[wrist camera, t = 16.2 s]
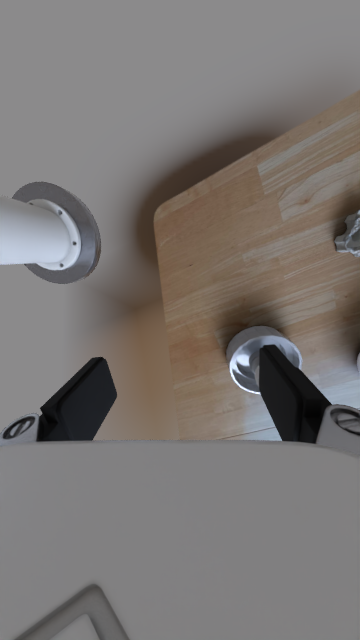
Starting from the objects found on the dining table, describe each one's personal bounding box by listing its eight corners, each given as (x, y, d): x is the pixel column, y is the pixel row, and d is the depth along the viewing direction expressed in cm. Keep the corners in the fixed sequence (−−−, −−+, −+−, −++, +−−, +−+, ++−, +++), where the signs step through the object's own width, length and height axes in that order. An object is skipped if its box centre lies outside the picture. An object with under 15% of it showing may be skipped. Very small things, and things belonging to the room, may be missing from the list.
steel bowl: (218, 370, 43) (221, 385, 38) (236, 318, 38) (243, 328, 33) (273, 383, 43) (284, 400, 38) (299, 333, 38) (315, 345, 33)
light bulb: (258, 338, 39) (284, 371, 27) (274, 354, 40) (305, 392, 28) (238, 353, 40) (255, 390, 29) (254, 368, 41) (276, 410, 30)
